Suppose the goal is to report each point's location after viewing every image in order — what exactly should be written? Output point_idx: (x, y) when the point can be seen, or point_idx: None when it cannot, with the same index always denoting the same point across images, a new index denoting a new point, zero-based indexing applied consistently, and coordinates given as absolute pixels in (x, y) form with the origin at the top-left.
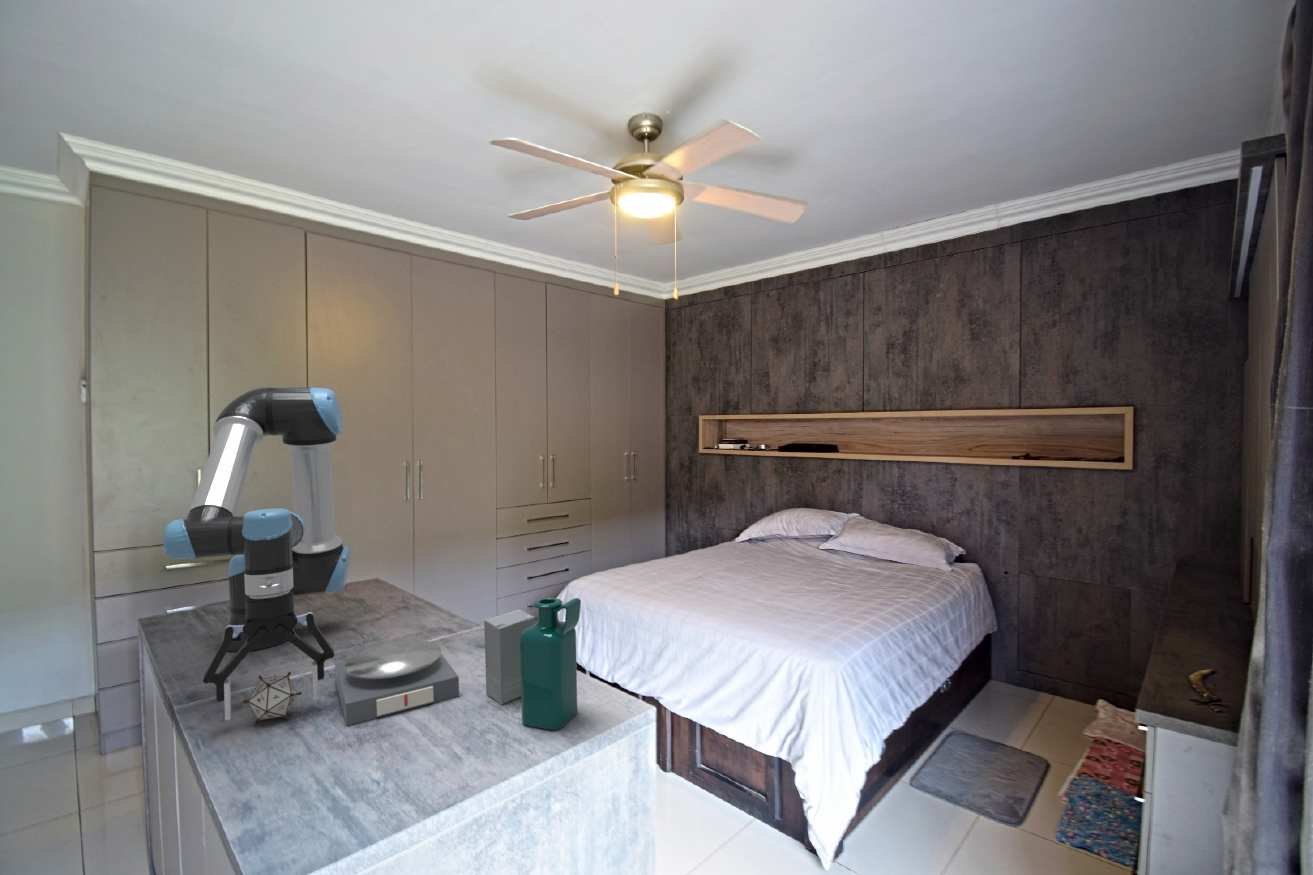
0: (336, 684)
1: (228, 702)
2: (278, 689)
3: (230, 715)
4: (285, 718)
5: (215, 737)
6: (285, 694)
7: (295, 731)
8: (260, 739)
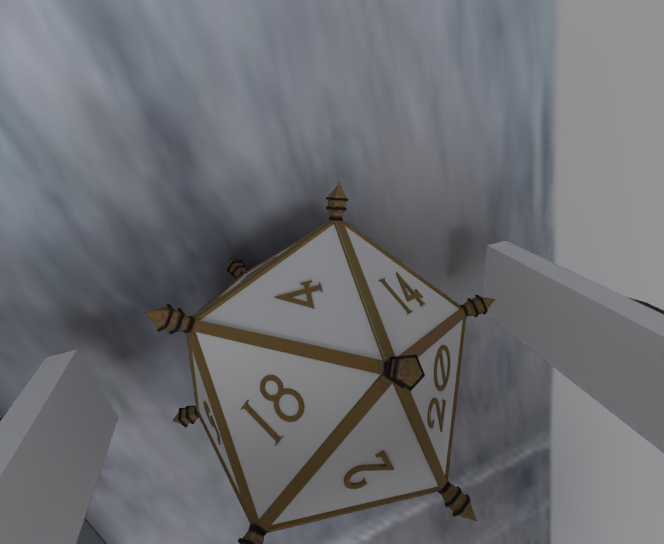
0: (87, 533)
1: (572, 283)
2: (296, 349)
3: (493, 268)
4: (239, 263)
5: (494, 202)
6: (234, 321)
7: (130, 74)
8: (321, 68)
